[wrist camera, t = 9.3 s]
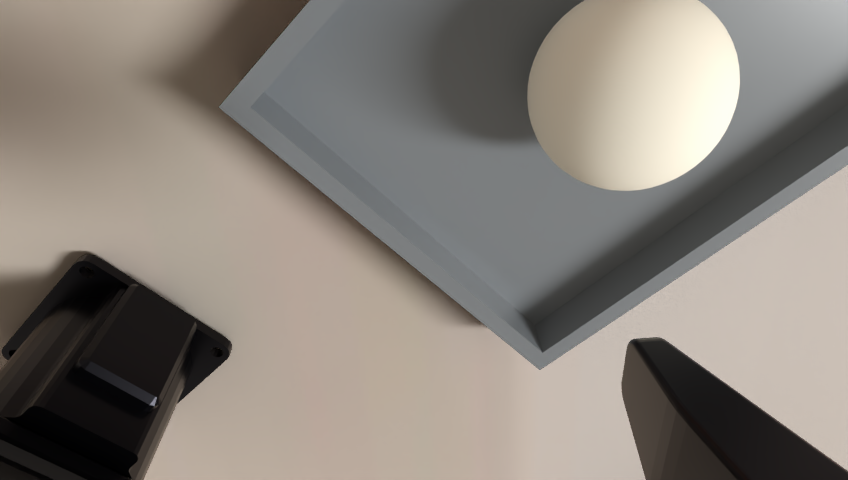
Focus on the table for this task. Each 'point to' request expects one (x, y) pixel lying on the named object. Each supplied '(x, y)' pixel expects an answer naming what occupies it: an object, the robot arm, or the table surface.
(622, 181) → the ball
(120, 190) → the table surface
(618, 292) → the tray
